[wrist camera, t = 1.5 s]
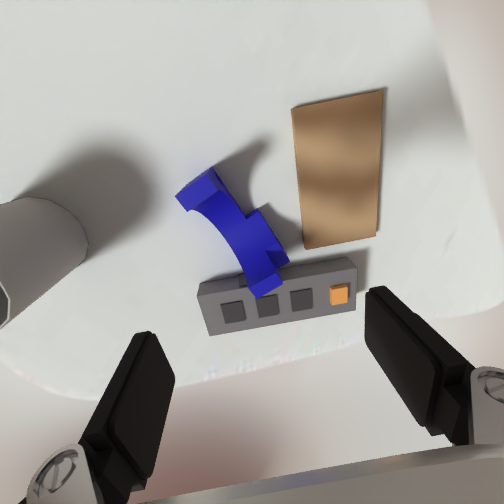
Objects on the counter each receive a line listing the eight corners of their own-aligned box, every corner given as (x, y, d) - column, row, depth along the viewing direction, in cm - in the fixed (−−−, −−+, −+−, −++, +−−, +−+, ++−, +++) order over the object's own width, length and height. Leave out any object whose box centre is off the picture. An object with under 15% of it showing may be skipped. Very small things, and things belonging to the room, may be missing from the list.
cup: (8, 265, 26) (-111, 332, 17) (-11, 190, 23) (-171, 224, 14) (91, 275, 27) (21, 343, 18) (85, 206, 24) (-4, 246, 15)
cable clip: (284, 249, 28) (297, 276, 22) (252, 269, 29) (256, 299, 23) (224, 157, 23) (222, 162, 18) (187, 183, 24) (174, 196, 19)
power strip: (211, 319, 32) (209, 340, 28) (199, 279, 29) (195, 297, 26) (345, 295, 32) (357, 313, 28) (345, 253, 29) (359, 267, 26)
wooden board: (290, 109, 22) (293, 108, 21) (378, 91, 22) (383, 90, 21) (304, 247, 28) (305, 250, 27) (372, 233, 28) (375, 236, 27)
